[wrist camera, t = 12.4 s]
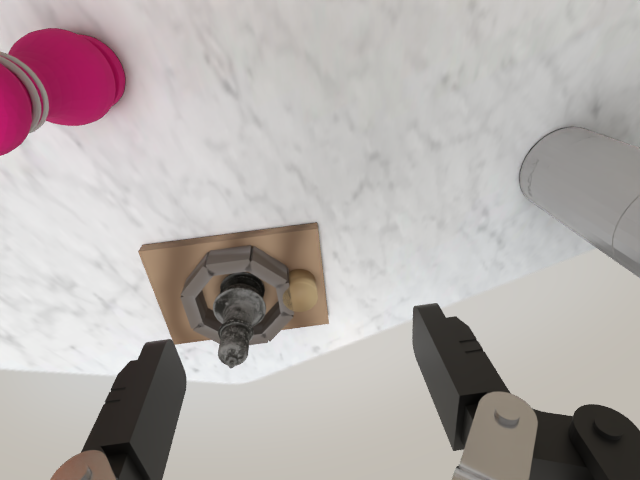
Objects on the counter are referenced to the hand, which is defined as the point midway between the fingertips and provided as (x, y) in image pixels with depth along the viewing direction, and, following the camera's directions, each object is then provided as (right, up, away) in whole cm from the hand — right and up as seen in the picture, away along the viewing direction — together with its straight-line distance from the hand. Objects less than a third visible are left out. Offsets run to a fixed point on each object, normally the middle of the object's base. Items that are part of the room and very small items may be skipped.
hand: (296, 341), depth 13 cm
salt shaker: (-9, -3, +34) cm, 35 cm away
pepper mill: (-20, +19, +22) cm, 35 cm away
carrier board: (-9, -2, +35) cm, 36 cm away
